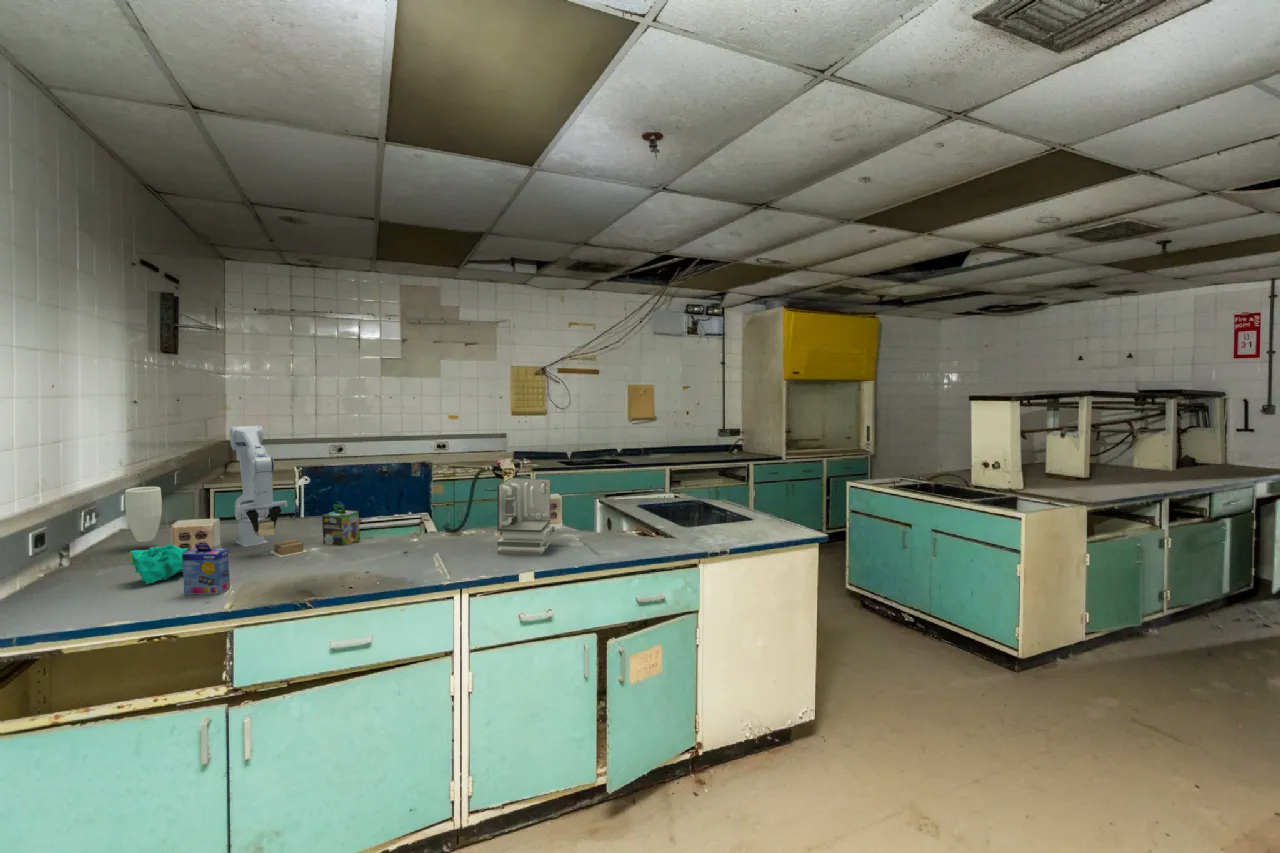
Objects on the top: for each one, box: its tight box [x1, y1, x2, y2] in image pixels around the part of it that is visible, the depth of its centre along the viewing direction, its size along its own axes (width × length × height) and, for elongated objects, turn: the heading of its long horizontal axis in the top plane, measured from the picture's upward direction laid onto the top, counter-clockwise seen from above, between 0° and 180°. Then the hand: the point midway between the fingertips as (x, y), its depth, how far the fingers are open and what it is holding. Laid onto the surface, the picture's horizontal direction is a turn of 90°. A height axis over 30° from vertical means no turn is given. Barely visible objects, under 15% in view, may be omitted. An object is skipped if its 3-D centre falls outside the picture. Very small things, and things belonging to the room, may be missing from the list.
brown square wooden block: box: [273, 539, 305, 556], centre depth 212 cm, size 7×7×3 cm
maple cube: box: [255, 519, 275, 537], centre depth 208 cm, size 4×4×4 cm
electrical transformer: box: [496, 477, 558, 557], centre depth 221 cm, size 16×19×25 cm
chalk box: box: [321, 504, 361, 546], centre depth 225 cm, size 9×9×15 cm
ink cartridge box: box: [182, 543, 231, 595], centre depth 172 cm, size 10×6×14 cm, turn 95°
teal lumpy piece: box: [129, 544, 188, 585], centre depth 183 cm, size 15×12×13 cm
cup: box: [124, 486, 163, 543], centre depth 214 cm, size 10×10×22 cm
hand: (264, 529), depth 208 cm, fingers closed on maple cube, 4 cm apart
